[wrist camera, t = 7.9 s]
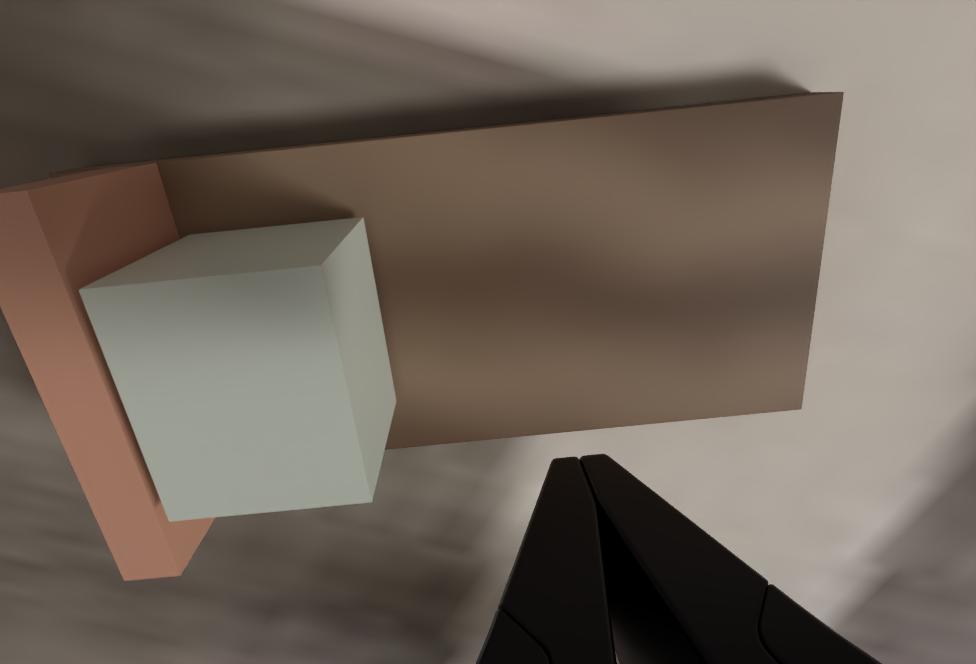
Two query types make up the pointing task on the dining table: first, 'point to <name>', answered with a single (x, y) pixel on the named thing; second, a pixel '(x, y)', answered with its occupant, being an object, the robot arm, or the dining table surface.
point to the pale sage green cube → (252, 367)
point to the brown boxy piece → (467, 276)
